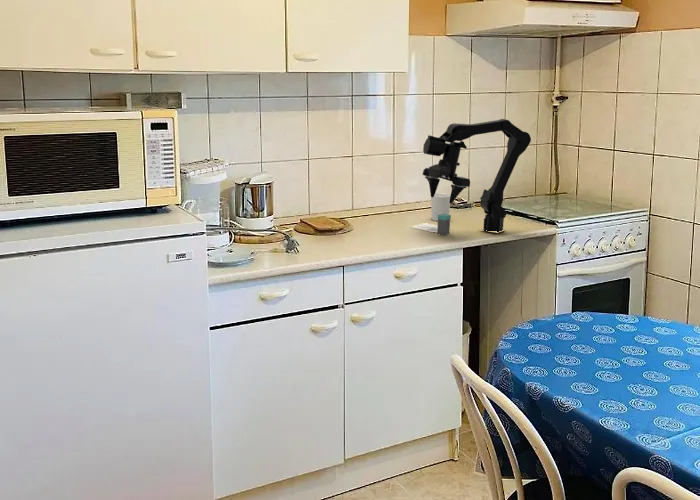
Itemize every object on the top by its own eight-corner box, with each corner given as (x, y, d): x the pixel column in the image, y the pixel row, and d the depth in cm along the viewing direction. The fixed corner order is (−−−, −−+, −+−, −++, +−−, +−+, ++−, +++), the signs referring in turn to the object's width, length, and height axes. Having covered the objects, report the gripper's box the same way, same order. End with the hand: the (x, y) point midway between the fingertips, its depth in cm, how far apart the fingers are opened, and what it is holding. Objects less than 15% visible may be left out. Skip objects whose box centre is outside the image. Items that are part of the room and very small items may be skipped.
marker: (449, 234, 284) (450, 215, 282) (444, 236, 281) (445, 216, 279) (441, 233, 286) (442, 213, 284) (436, 234, 283) (437, 214, 282)
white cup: (450, 222, 305) (452, 197, 302) (430, 221, 305) (432, 196, 302) (448, 217, 312) (450, 193, 310) (429, 217, 312) (430, 192, 310)
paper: (450, 228, 293) (450, 227, 293) (436, 233, 285) (436, 232, 285) (424, 223, 300) (424, 222, 300) (409, 227, 293) (409, 226, 293)
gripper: (417, 151, 280) (408, 193, 283) (455, 162, 267) (446, 205, 270) (437, 154, 288) (428, 194, 291) (475, 164, 275) (465, 206, 278)
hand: (441, 200), depth 282 cm, fingers open, 9 cm apart
